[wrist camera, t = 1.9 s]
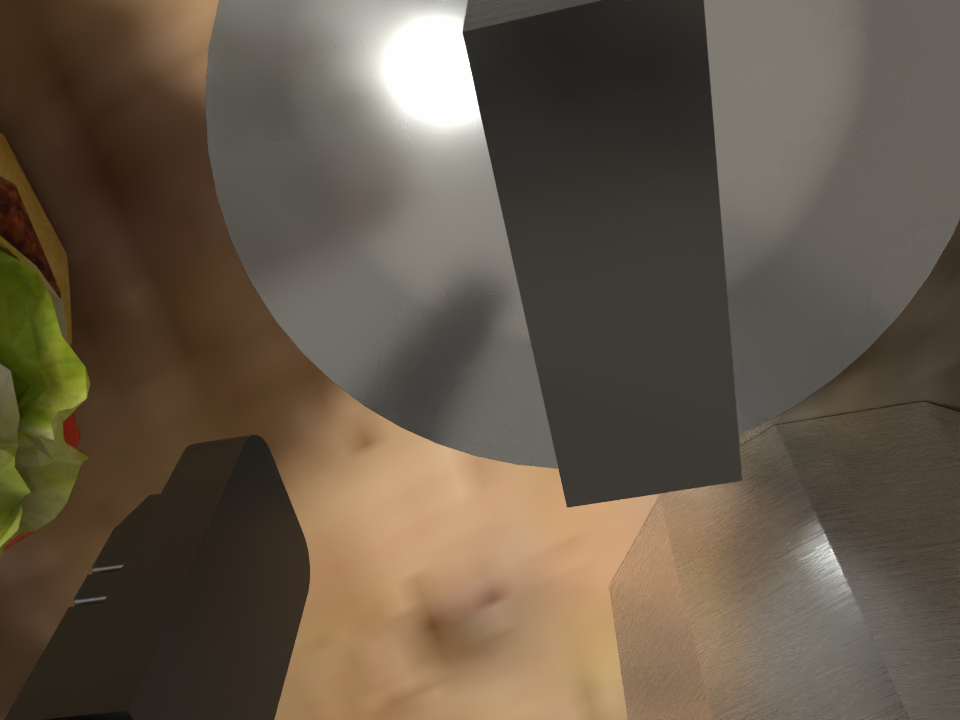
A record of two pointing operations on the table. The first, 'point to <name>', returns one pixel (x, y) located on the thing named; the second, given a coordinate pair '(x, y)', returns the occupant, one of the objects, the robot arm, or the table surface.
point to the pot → (804, 579)
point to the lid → (586, 210)
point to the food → (34, 363)
